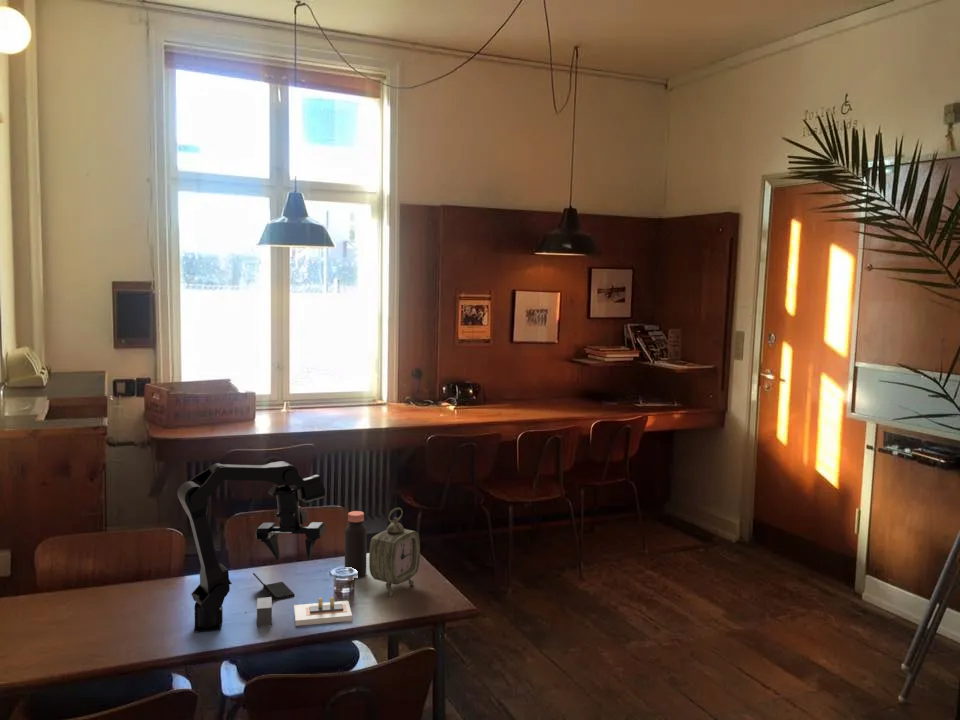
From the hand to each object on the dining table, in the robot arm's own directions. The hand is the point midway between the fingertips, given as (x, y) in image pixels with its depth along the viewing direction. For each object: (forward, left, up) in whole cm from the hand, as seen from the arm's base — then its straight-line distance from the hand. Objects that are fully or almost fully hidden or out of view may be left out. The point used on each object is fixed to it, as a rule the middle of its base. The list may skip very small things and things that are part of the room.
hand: (293, 559), depth 218 cm
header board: (+8, -8, -14) cm, 18 cm away
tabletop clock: (+30, +6, -14) cm, 33 cm away
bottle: (+20, +19, -14) cm, 31 cm away
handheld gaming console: (-5, +10, -14) cm, 18 cm away
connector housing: (-8, -8, -14) cm, 18 cm away
